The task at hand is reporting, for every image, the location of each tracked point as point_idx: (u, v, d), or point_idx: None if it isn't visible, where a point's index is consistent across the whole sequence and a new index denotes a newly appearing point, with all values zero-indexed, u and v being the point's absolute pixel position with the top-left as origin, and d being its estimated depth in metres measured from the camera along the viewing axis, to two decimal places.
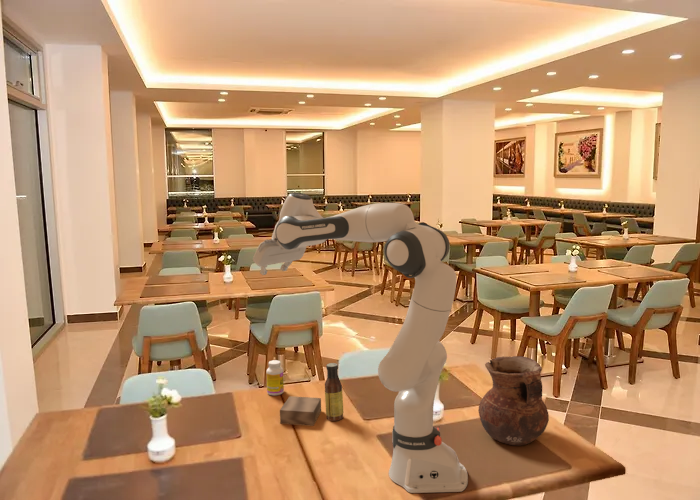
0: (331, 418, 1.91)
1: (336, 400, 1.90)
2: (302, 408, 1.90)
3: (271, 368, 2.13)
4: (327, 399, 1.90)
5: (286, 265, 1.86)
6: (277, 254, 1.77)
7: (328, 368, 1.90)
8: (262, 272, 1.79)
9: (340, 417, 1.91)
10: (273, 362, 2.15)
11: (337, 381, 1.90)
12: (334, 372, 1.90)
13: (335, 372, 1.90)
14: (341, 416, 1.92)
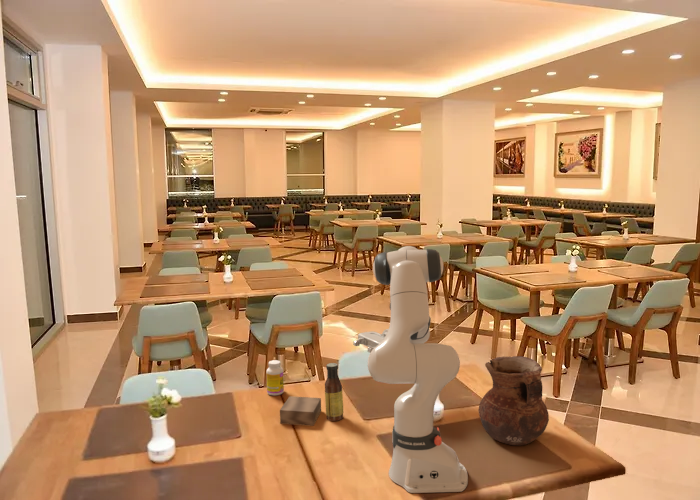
0: (331, 418, 1.91)
1: (336, 400, 1.90)
2: (302, 408, 1.90)
3: (271, 368, 2.13)
4: (327, 399, 1.90)
5: None
6: (375, 336, 2.03)
7: (328, 368, 1.90)
8: None
9: (340, 417, 1.91)
10: (273, 362, 2.15)
11: (337, 381, 1.90)
12: (334, 372, 1.90)
13: (335, 372, 1.90)
14: (341, 416, 1.92)
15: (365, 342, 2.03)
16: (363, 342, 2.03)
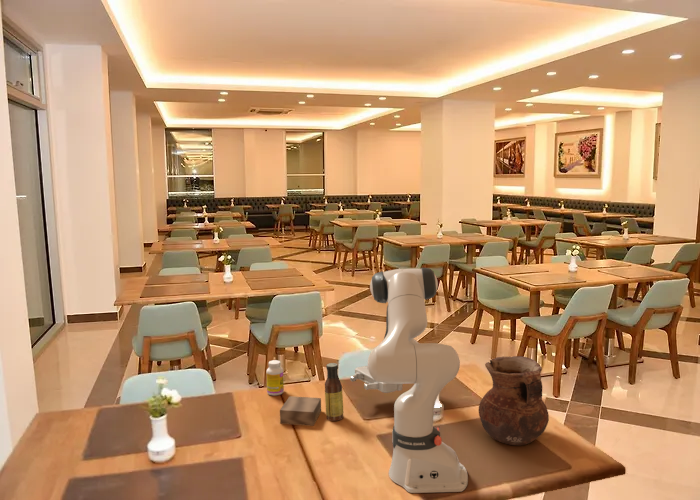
0: (331, 418, 1.91)
1: (336, 400, 1.90)
2: (302, 408, 1.90)
3: (271, 368, 2.13)
4: (327, 399, 1.90)
5: None
6: None
7: (328, 368, 1.90)
8: None
9: (340, 417, 1.91)
10: (273, 362, 2.15)
11: (337, 381, 1.90)
12: (334, 372, 1.90)
13: (335, 372, 1.90)
14: (341, 416, 1.92)
15: (362, 377, 2.04)
16: (360, 377, 2.04)
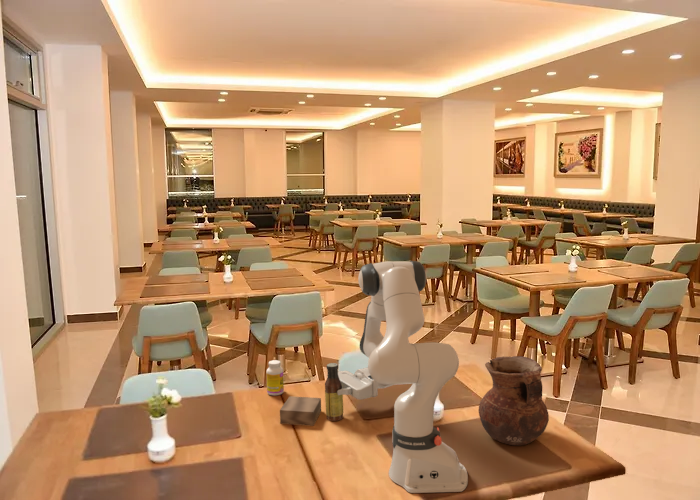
0: (331, 418, 1.90)
1: (336, 400, 1.89)
2: (302, 408, 1.90)
3: (271, 368, 2.13)
4: (327, 399, 1.90)
5: None
6: (347, 376, 1.98)
7: (328, 368, 1.89)
8: None
9: (340, 417, 1.91)
10: (273, 362, 2.15)
11: (337, 381, 1.90)
12: (335, 372, 1.90)
13: (335, 372, 1.90)
14: (341, 416, 1.92)
15: None
16: None
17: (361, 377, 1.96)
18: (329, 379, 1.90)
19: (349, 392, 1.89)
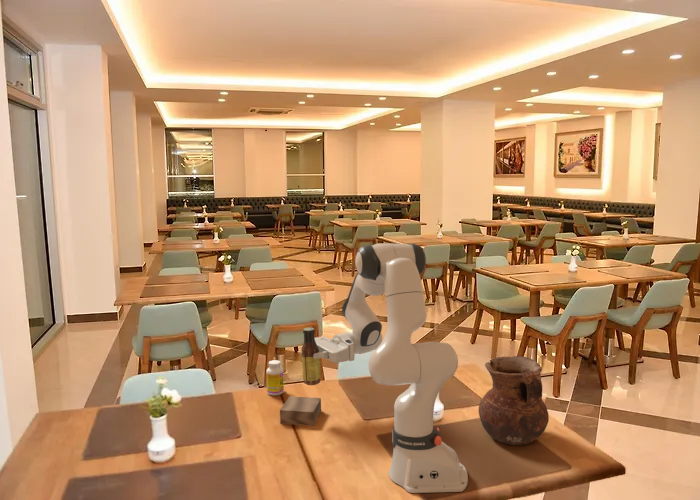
0: (308, 382, 1.90)
1: (313, 364, 1.89)
2: (302, 408, 1.90)
3: (271, 368, 2.13)
4: (304, 363, 1.90)
5: None
6: (325, 342, 1.97)
7: (304, 332, 1.89)
8: None
9: (317, 381, 1.90)
10: (273, 362, 2.15)
11: (314, 345, 1.89)
12: (311, 336, 1.89)
13: (312, 336, 1.89)
14: (318, 380, 1.91)
15: None
16: None
17: (338, 342, 1.95)
18: (305, 343, 1.89)
19: (325, 356, 1.88)
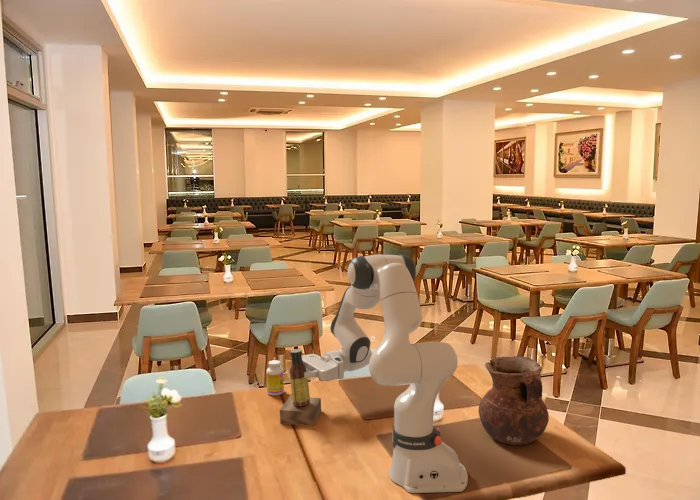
0: (297, 404, 1.91)
1: (301, 386, 1.90)
2: (302, 408, 1.90)
3: (271, 368, 2.13)
4: (292, 385, 1.90)
5: None
6: (314, 359, 1.98)
7: (292, 354, 1.90)
8: None
9: (306, 402, 1.91)
10: (273, 362, 2.15)
11: (301, 367, 1.90)
12: (298, 358, 1.90)
13: (299, 358, 1.90)
14: (307, 401, 1.92)
15: (304, 365, 1.98)
16: None
17: (328, 359, 1.96)
18: (293, 365, 1.90)
19: (316, 375, 1.88)
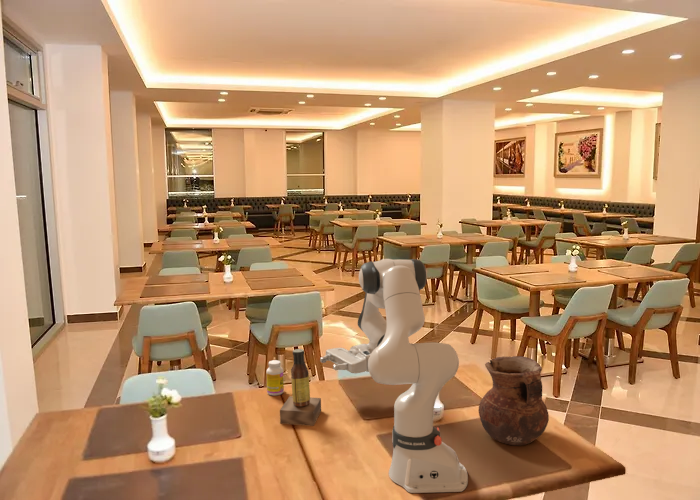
0: (297, 404, 1.91)
1: (302, 386, 1.90)
2: (302, 408, 1.90)
3: (271, 368, 2.13)
4: (293, 385, 1.90)
5: None
6: (342, 353, 2.05)
7: (294, 354, 1.90)
8: None
9: (306, 403, 1.91)
10: (273, 362, 2.15)
11: (303, 367, 1.90)
12: (300, 358, 1.90)
13: (301, 358, 1.90)
14: (307, 402, 1.92)
15: (332, 359, 2.05)
16: (330, 359, 2.05)
17: (356, 353, 2.02)
18: (295, 365, 1.90)
19: (345, 367, 1.95)
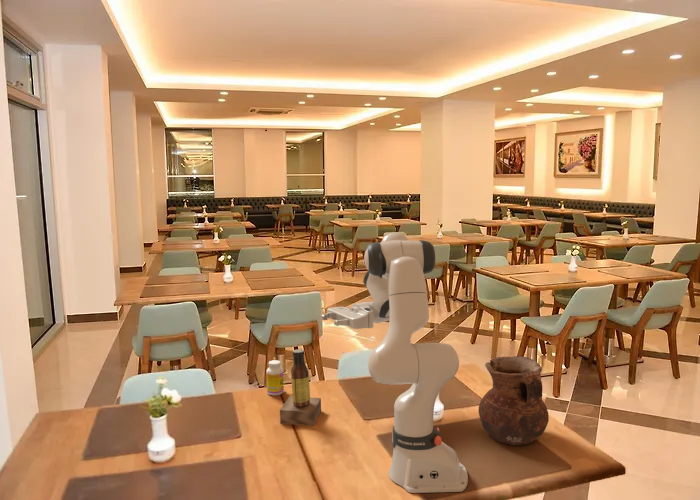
0: (297, 404, 1.91)
1: (302, 386, 1.90)
2: (302, 408, 1.90)
3: (271, 368, 2.13)
4: (293, 385, 1.90)
5: None
6: (344, 310, 2.03)
7: (294, 354, 1.90)
8: None
9: (306, 403, 1.91)
10: (273, 362, 2.15)
11: (303, 367, 1.90)
12: (300, 358, 1.90)
13: (301, 358, 1.90)
14: (307, 402, 1.92)
15: (333, 316, 2.03)
16: (331, 316, 2.03)
17: (357, 310, 2.00)
18: (295, 365, 1.90)
19: (347, 323, 1.93)
